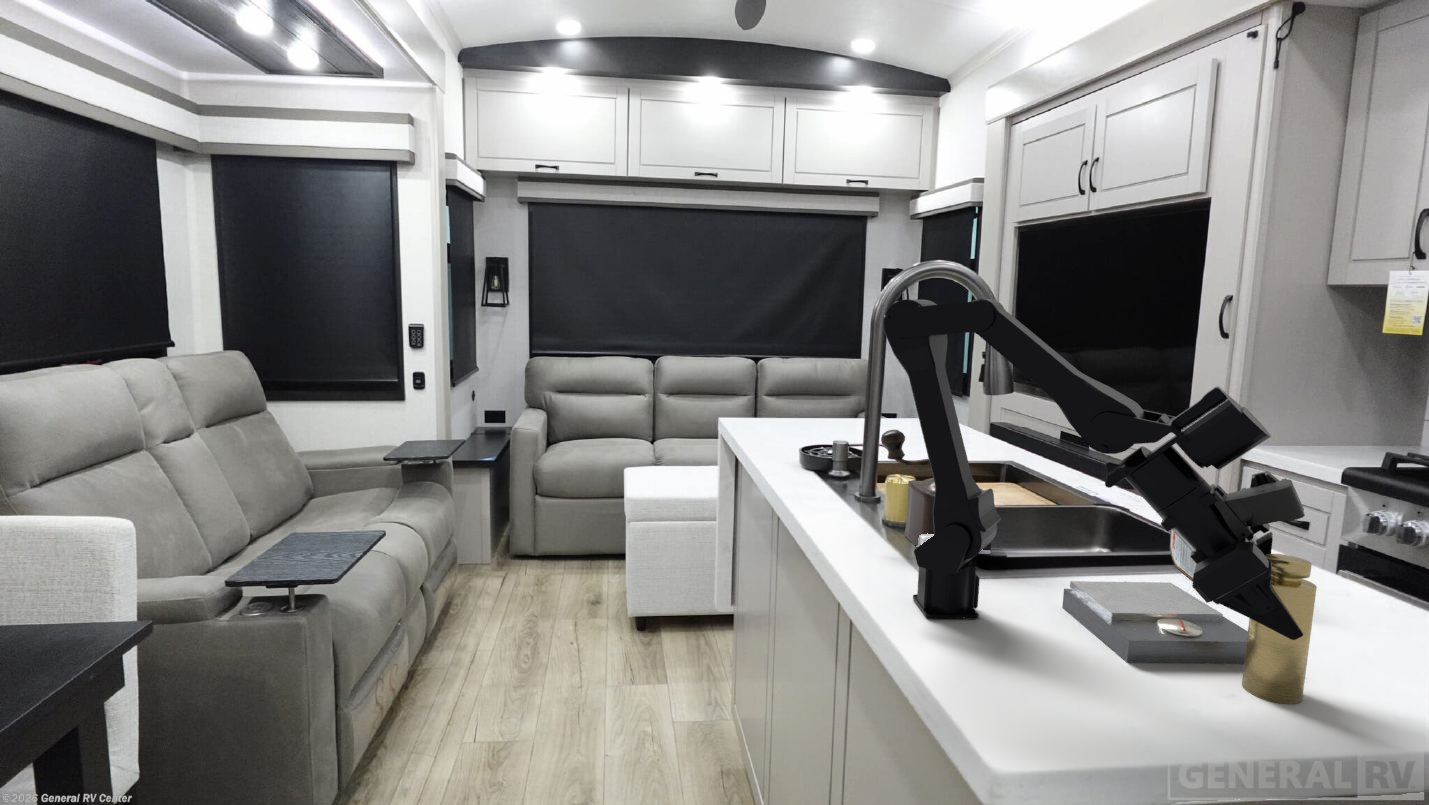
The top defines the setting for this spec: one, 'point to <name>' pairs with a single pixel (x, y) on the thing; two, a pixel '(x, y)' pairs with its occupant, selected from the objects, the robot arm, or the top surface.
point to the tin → (1181, 555)
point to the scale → (1155, 623)
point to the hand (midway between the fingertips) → (1297, 623)
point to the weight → (1282, 637)
